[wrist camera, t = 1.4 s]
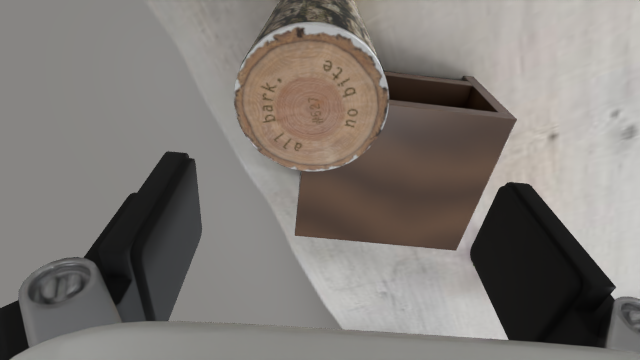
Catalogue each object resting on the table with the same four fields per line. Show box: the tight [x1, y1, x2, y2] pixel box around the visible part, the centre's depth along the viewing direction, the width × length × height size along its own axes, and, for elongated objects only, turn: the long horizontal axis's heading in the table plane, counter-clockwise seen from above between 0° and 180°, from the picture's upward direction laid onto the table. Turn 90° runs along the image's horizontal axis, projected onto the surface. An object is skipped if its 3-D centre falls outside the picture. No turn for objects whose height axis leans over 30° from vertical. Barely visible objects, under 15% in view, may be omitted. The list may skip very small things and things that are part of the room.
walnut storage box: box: [295, 71, 517, 250], centre depth 40 cm, size 16×18×11 cm
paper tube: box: [234, 0, 389, 171], centre depth 26 cm, size 7×7×25 cm
